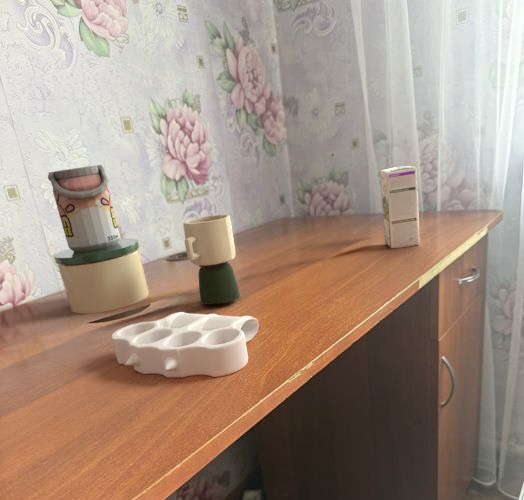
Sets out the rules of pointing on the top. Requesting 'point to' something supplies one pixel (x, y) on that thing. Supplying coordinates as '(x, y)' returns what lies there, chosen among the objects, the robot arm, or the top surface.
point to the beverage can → (85, 208)
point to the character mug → (212, 257)
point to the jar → (104, 279)
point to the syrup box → (400, 206)
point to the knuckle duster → (186, 344)
